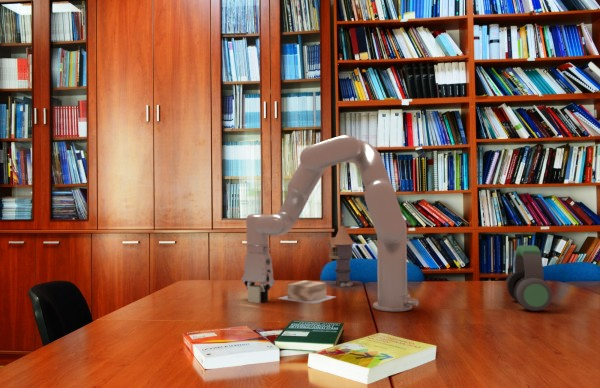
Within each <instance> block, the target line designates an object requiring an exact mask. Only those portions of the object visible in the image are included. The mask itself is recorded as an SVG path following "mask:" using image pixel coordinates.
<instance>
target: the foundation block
mask: <svg viewBox="0 0 600 388" xmlns="http://www.w3.org/2000/svg"><path fill="white" fill-rule="evenodd" d="M286 288H287V295H286V296H288V299H295V300H302V301H309V302H311V301H314V300H318V299H321V298H324V297H326V295H327V282H323V281H322V282H321V281H314V280H313V281H312V280H306V279H305V280H304V279H303V280H300V281H295V282H292V283H287V287H286Z"/></svg>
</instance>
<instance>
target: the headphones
mask: <svg viewBox="0 0 600 388" xmlns="http://www.w3.org/2000/svg"><path fill="white" fill-rule="evenodd" d="M514 257H515V258H514V272H513V273H511V274H510V275H509V277H508V278H507V281H506V290H507V292H508V294H509V296H510V297H511V298H512V299H514V300H515V301H516V302H517V303H518V305H520V306H521V307H522V308H524V309H525V310H527V311H532V312H533V311H534V312H537V311H538V312H539V311H542V310H545V309H546V308H548V307H549V306H550V304H551V303H552V300H553V290H552V288H551V285H550V284H549V283H548V282H547V280H545V279H544V267H543V258H542V251H541V250H540V249H539V247H538V246H537V245H528V244H527V245H525V244H524V245H518V246H517V247H516V249H515V256H514Z"/></svg>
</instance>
